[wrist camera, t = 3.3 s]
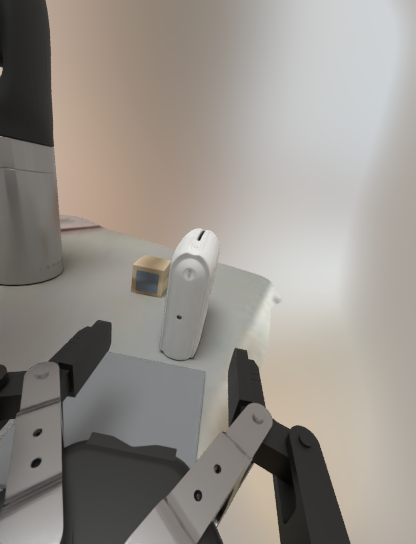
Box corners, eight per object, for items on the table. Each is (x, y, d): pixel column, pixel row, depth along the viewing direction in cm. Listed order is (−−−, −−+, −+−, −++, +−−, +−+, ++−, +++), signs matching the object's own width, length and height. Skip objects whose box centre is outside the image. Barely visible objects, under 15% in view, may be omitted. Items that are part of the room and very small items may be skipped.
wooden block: (130, 292, 32) (132, 265, 30) (141, 280, 36) (143, 255, 35) (160, 299, 32) (163, 271, 30) (168, 285, 36) (171, 260, 35)
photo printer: (195, 366, 22) (221, 249, 17) (153, 356, 22) (167, 237, 17) (206, 311, 31) (225, 226, 26) (177, 305, 31) (190, 219, 27)
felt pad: (-32, 481, 12) (-33, 477, 11) (82, 349, 21) (82, 346, 21) (188, 525, 12) (189, 522, 11) (204, 374, 21) (205, 371, 21)
